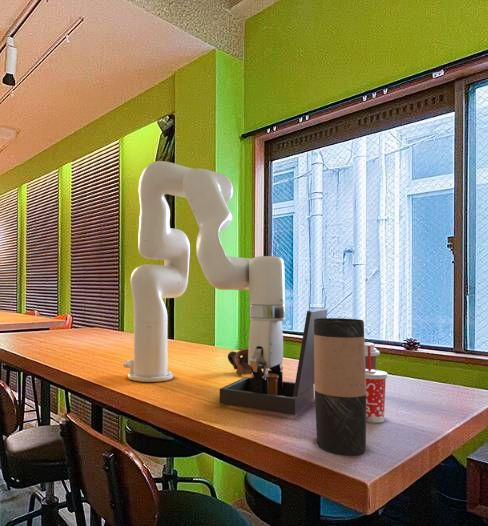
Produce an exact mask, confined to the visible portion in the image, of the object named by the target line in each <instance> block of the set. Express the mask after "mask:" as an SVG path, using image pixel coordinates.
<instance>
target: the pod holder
mask: <svg viewBox="0 0 488 526" xmlns="http://www.w3.org/2000/svg"><path fill="white" fill-rule="evenodd" d="M294 387H295V382H294V381H293V382H292V381H284V380H283V389H282V390H277V395H270V394H262V393H255V392H252V376H245V377H243V378H240V379H238V380H236V381H234V382H231V383H229V384H227V385H224V386H222V387H220V388H219V404H221V405H228V406H234V407H240V408H247V409H253V410H259V411H266V412H272V413H279V414H284V415H291V416H297V414H299V412H301V411H302V410H303V409H304V408H305V407H306V406H308V405H309V404H310V403H311V402H312V401H314V400H315V384H314V385H312V386H311V387H310V388H308V389H307V390H306V391H304V392H303V393H302V394H300V395H299V396H298V397H295V396H293V393H294Z"/></svg>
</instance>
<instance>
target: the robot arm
mask: <svg viewBox="0 0 488 526" xmlns="http://www.w3.org/2000/svg"><path fill="white" fill-rule="evenodd" d="M233 186H234V185H233V183H232V181H231V179H230V178H229V177H228V176H227V175H225V174H223V173H220V172H217V171H213V170H210V169H206V168H201V167H198V168H193V167H188V166H185V165H182V164H178V163H175V162H171V161H164V160H156V161H153V162H150V163H149V164H148V165H147V166H145V168H144V169H143V171H142V173H141V175H140V178H139V181H138V197H139V198H138V200H139V208H140V209H139V220H138V221H139V223H138V241H137V242H138V243H137V245H138V247H137V248H138V254H139V255H140V256H141V257H143V258H145V259H148V260H154V261H163V264H152V263H151V264H150V263H149V264H148V263H147V264H141V265H139V266H137V267H135V269H133V271H132V273H131V274H130V275H131V276H130V278H129V280H130V281H129V282H130V289H131V290H130V291H131V295H132V303H133V360H129V359H127V360H126V359H125V362H124V363H123V364H122V365H123V368H124V369H129V371H130V372H128V373H127V378H128V379H129V380H131V381H134V382H141V383H158V382H165V381H170V380H172V379H174V373H173V372H172V371H170V370H168V363H169V362H168V360H169V359H168V358H169V357H168V356H169V355H168V343H169V342H168V339H169V338H168V336H169V335H168V329H169V328H168V325H169V323H168V320H169V317H168V310H167V307H166V304H165V301H164V300H163V299H174V298H176V299H177V298H180V297H181V296H182V295H184V293H185V292H186V290H187V288H188V284H189V275H190V274H189V272H190V271H189V270H190V258H191V257H190V255H191V244H190V241H189V238H188V236H187V234H186V233H185V232H184V231H183V230H181V229H178V228H173V227H171V225H170V222H171V221H170V219H171V210H170V205H169V203H168V201H167V198H166V196H165V195H170V196H173V197H179V198H184V199H186V200H187V203H188V205H189V208H190V209H191V212H192V214H193V217H194V219H195V221H196V224H197V226H198V228H199V229H198V230H199V231H198V233H197V236H196V242H195V243H196V244H195V252H196V253H195V254H196V258H197V261H198V264H199V267H200V268H201V270H202V273H203V276H204V277H205V279H206V280H207V282H208V284H209V285H211V286H212V288H215V289H217V290H220V291H221V290H223V291H248V293H249V295H248V297H249V300H248V301H249V302H248V303H249V311H248V312H249V320H250V324H249V331H248V349H249V350H248V364H249V366H251V367H252V368H251V371H252V372H251V378H252V392H255V393H262V394H268V379H266V377H267V373H273V374H277V375H278V376H279V378H278V379H277V390H282V389H283V381H284V379H283V378H284V377H283V376H284V375H283V368H284V367H283V362H284V332H283V321H286V305H285V304H286V301H285V300H286V299H285V297H286V295H285V294H286V291H285V290H286V289H285V286H286V285H285V262H284V260H283V258H282V257H280V256H274V255H260V256H254V257H252V258H248V257H239V256H230V255H228V256H227V254H226V251H225V249H224V246H223V243H222V242H221V239H220V232H222V231H224V230H225V229H226V228H228V226H229V225H230V224H231V223H232V220H233V215H232V213H231V209H230V208H229V206H228V203H229V202H230V201H231V200H232V198H233V194H234V187H233Z"/></svg>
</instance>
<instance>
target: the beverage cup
mask: <svg viewBox="0 0 488 526" xmlns="http://www.w3.org/2000/svg"><path fill="white" fill-rule="evenodd" d="M387 378H388V372H387V371H383V370H380V369H376V370H373V369H371V348H370V345H368V369H366V418H367V419H366V423H376V424H377V423H383V422H385V405H386V404H385V403H386V402H385V401H386V381H387V380H386V379H387Z"/></svg>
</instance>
